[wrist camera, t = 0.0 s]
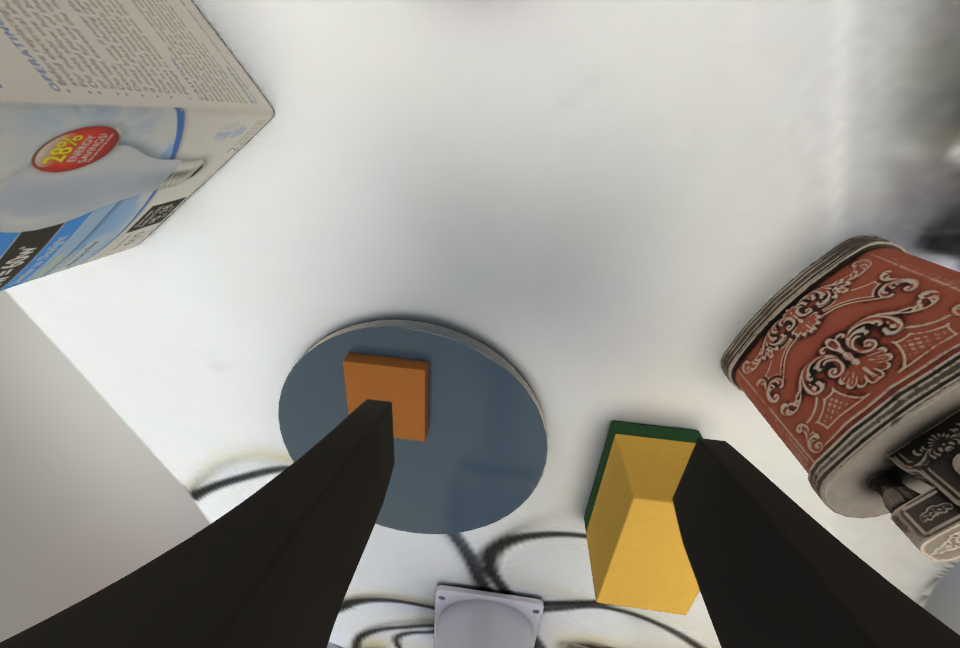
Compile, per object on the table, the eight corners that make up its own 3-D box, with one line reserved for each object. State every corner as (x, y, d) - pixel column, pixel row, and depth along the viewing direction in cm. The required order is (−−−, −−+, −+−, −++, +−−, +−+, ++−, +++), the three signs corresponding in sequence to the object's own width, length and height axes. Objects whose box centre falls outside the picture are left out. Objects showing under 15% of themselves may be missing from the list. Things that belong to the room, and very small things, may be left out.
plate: (528, 531, 26) (529, 549, 25) (307, 501, 27) (298, 517, 26) (566, 332, 19) (569, 344, 18) (267, 300, 20) (253, 311, 19)
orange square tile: (428, 431, 22) (424, 442, 21) (355, 422, 22) (349, 432, 21) (428, 361, 20) (425, 370, 19) (348, 352, 20) (342, 360, 19)
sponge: (658, 527, 25) (686, 615, 21) (583, 517, 25) (595, 603, 21) (699, 430, 21) (744, 512, 17) (611, 419, 22) (633, 498, 17)
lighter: (757, 394, 20) (941, 616, 11) (703, 363, 19) (852, 569, 11) (914, 262, 16) (1369, 434, 8) (854, 219, 16) (1267, 350, 7)
